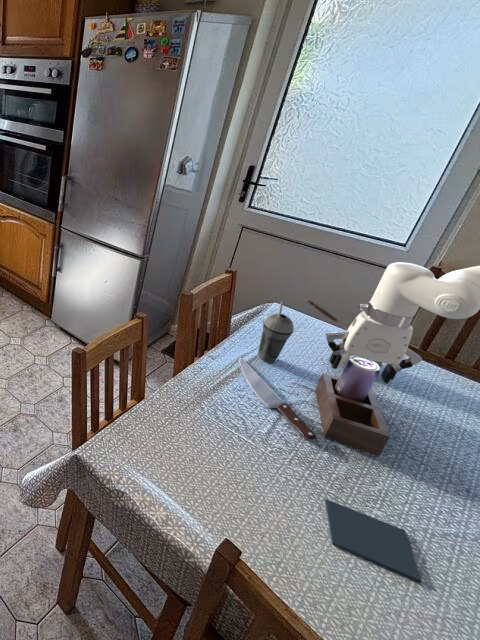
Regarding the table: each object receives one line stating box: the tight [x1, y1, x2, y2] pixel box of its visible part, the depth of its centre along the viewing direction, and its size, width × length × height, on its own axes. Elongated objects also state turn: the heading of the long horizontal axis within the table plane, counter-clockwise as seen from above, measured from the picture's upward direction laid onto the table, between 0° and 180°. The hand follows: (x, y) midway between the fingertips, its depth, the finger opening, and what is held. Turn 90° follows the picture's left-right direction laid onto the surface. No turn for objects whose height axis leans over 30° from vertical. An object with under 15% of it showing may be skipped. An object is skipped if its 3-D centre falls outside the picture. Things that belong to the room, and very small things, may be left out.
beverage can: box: [333, 356, 381, 403], centre depth 103 cm, size 6×6×15 cm
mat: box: [324, 498, 422, 583], centre depth 78 cm, size 12×10×1 cm
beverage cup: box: [257, 301, 295, 364], centre depth 121 cm, size 7×7×20 cm
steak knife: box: [238, 356, 317, 442], centre depth 111 cm, size 5×31×2 cm, turn 179°
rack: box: [314, 372, 391, 456], centre depth 102 cm, size 18×10×6 cm, turn 148°
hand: (358, 372), depth 102 cm, fingers open, 9 cm apart
